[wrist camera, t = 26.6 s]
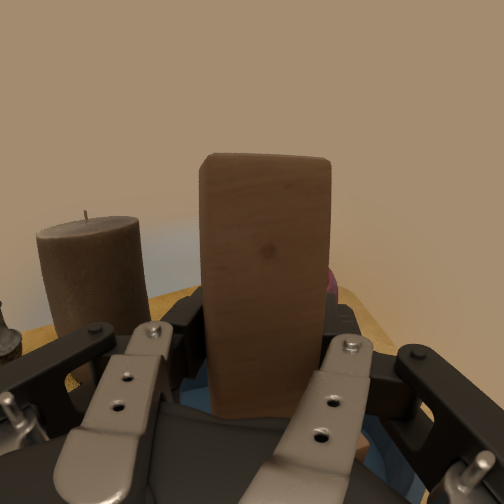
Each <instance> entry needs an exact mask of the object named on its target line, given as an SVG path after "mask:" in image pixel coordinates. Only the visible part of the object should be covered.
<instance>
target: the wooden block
mask: <svg viewBox="0 0 504 504" xmlns="http://www.w3.org/2000/svg"><path fill="white" fill-rule="evenodd" d="M330 224H331V163H330V161H328V160H326V159H325V158H320V157H307V156H293V155H275V154H251V153H250V154H249V153H213V154H211V155H208V156H207V158H206V159H205V161H204V162H203V164H202V165H201V167H200V169H199V229H200V262H201V286H202V305H203V322H204V337H205V351H206V364H207V376H208V387H209V397H210V407H211V414H212V415H215V416H218V417H220V418H224V419H240V418H253V417H265V416H269V417H284V418H292V416H293V414H294V412H295V410H296V408H297V406H298V404H299V402H300V400H301V398H302V396H303V394H304V392H305V390H306V387H307V385H308V383H309V381H310V379H311V377H312V374H313V372H314V370H315V369H317V370H319V362H320V354H321V345H322V335H323V327H324V317H325V306H326V294H327V280H328V265H329V247H330ZM369 447H370V445H369V442H368V441H367V439H366V438H365V437H364V436H363V434H362V433H361V432H360V436H359V441H358V445H357V449H356V453H355V457H356V458H357V459H358V460H359V461H360V462H361V463H363V462H364V459H365V457H366V454H367V452H368V449H369Z"/></svg>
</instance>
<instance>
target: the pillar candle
mask: <svg viewBox="0 0 504 504" xmlns="http://www.w3.org/2000/svg"><path fill="white" fill-rule="evenodd" d="M84 215H85V220H80V221H73V222H69V223H64V224H60V225H56V226H53V227H50V228H47V229H44V230H41V231H39V232H37V233H36V240H37V247H38V253H39V258H40V263H41V271H42V276H43V281H44V285H45V289H46V293H47V297H48V301H49V306H50V310H51V314H52V318H53V322H54V326H55V330H56V333H57V336H58V338H60V337H62V336H64V335H67V334H69V333H71V332H73V331H75V330H77V329H79V328H81V327H83V326H85V325H87V324H90V323H95V322H106V323H109V324H111V325H112V326H113V327H114V332H115V336H125V335H132V334H133V332H134V330H135V328H136V327H137V326H139V325H140V324H143V323H145V322H150V321H151V316H150V310H149V304H148V296H147V291H146V285H145V276H144V268H143V260H142V251H141V242H140V230H139V220H138V219H137V218H135V217H129V216H109V217H99V218H91V219H88V218H87V211H86V210H84ZM71 374H72V376H73V377H74V378H75V379H76V380H77V381H78V382H80V383H81V384H83V383H85V382H87V381H88V380H90V379H92V376H91V373H90V370H89V367H88V364H87V363H86V364H84V365H82V366H80V367H79V368H77V369H75V370H73V371H72V372H71Z"/></svg>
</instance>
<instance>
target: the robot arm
mask: <svg viewBox="0 0 504 504" xmlns="http://www.w3.org/2000/svg"><path fill="white" fill-rule="evenodd" d="M205 358H206V351H205V337H204V322H203V305H202V286H199V287H198V288H197V289H196V290H195V292H194V293H193V294H192V295H191V296H186V297H184V298H182V299H180V300H178V301H177V302H176V303H175V304H174V305H173V307H172V308H171V309H170V310H169V311H168V312H167V313H166V314H165V315H164V316H163V317H162V319H161V320H160V321H150V322H145V323H143V324H140V325H139V326H137V327H136V328H135V330H134V332H133V334H132V335H125V336H115V332H114V327H113V326H112V325H111V324H109V323H106V322H95V323H90V324H87V325H85V326H83V327H81V328H79V329H77V330H75V331H73V332H71V333H69V334H67V335H64V336H62V337H60V338H58V339H56V340H54V341H52V342H50V343H48V344H46V345H44V346H42V347H40V348H38V349H36V350H34V351H32V352H30V353H28V354H26V355H24V356H21V357H19V358H17V359H15V360H13V361H11V362H9V363H7V364H5V365H3V366H1V367H0V504H412V503H411V502H409V501H408V500H407V499H405V498H404V497H403V496H402V495H400V494H399V493H398V492H397V491H395V490H394V489H393V488H392V487H390V486H389V485H388V484H387V483H385V482H384V481H383V480H382V479H380V478H379V477H378V476H377V475H376V474H374V473H373V472H372V471H371V470H370V469H368V468H367V467H366V466H365V465H364V464H363V463H361V462H360V461H359V460H358V459H357V458H356V457H355V453H356V449H357V445H358V441H359V436H360V432H361V427H362V423H363V418H364V414H368V415H373V416H378V419H379V422H380V424H381V425H382V426H383V428H384V429H385V431H386V432H387V433H388V435H389V436H390V438H391V439H392V440H393V442H394V443H395V445H396V446H397V448H398V449H399V450H400V452H401V453H402V455H403V456H404V457H405V459H406V460H407V462H408V463H409V464H410V466H411V467H412V469H413V470H414V472H415V473H416V474H417V476H418V477H419V479H420V480H421V482H422V483H423V484H424V486H425V487H426V489H427V490H428V491H429V493H430V494H429V496H428V498H427V504H504V410H503V409H502V408H500V407H499V406H498V405H497V404H496V403H495V402H494V401H493V400H491V399H490V398H489V397H488V396H486V394H485V393H483V392H482V391H481V390H480V389H479V388H478V387H476V386H475V385H474V384H473V383H472V382H471V381H469V380H468V379H467V378H466V377H465V376H463V375H462V374H461V373H460V372H459V371H458V370H457V369H455V368H454V367H453V366H452V365H450V364H449V363H448V362H447V361H446V360H445V359H443V358H442V357H441V356H440V355H439V354H437V353H436V352H435V351H434V350H432V349H431V348H429V347H427V346H424V345H420V344H407V345H404V346H402V347H401V348H400V349H399V350H398V353H397V356H393V355H387V354H382V353H378V352H376V351H373V343H372V342H371V341H370V340H369V339H368V338H366V337H364V336H362V335H361V332H360V329H359V326H358V323H357V321H356V318H355V315H354V312H353V310H352V309H351V308H350V307H348V306H347V305H346V304H337V303H336V299H335V295H334V293H327V294H326V306H325V317H324V327H323V335H322V345H321V354H320V362H319V370H317V369H315V370H314V372H313V374H312V377H311V379H310V381H309V383H308V385H307V387H306V390H305V392H304V394H303V396H302V398H301V400H300V402H299V404H298V406H297V408H296V410H295V412H294V414H293V416H292V418H284V417H269V416H265V417H253V418H240V419H224V418H220V417H218V416H215V415H212V414H209V413H206V412H204V411H201V410H198V409H196V408H193V407H190V406H184V405H181V402H182V384H181V382H182V380H183V379H184V378H186V379H192V380H195V378H196V376H197V374H198V372H199V370H200V368H201V366H202V364H203V362H204V360H205ZM86 363H87V364H88V367H89V370H90V373H91V376H92V379H90V380H88V381H87V382H85V383H83V384H82V385H80V386H79V387H77V388H75V389H74V390H72V391H70V392H69V393H68V392H67V389H66V387H65V378H66V376H67V375H68V374H69V373H70V372H72V371H73V370H75V369H77V368H79V367H80V366H82V365H84V364H86ZM422 402H424V403H425V404H426V405H427V406H428V408H429V409H430V410H431V411H432V413H433V416H434V423H433V422H432V420H431V419H430V418H429V417H428V416H427V415H426V414H425V413H424V411H423V410H422V409H421V408H420V406H421V404H422Z"/></svg>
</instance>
